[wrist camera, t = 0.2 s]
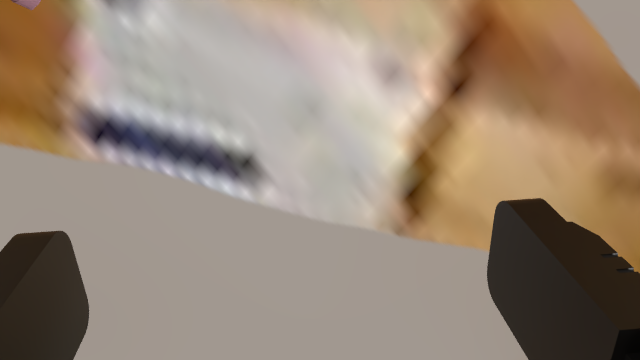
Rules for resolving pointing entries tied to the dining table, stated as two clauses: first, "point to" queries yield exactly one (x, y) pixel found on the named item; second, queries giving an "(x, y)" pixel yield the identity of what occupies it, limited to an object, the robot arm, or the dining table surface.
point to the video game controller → (27, 3)
